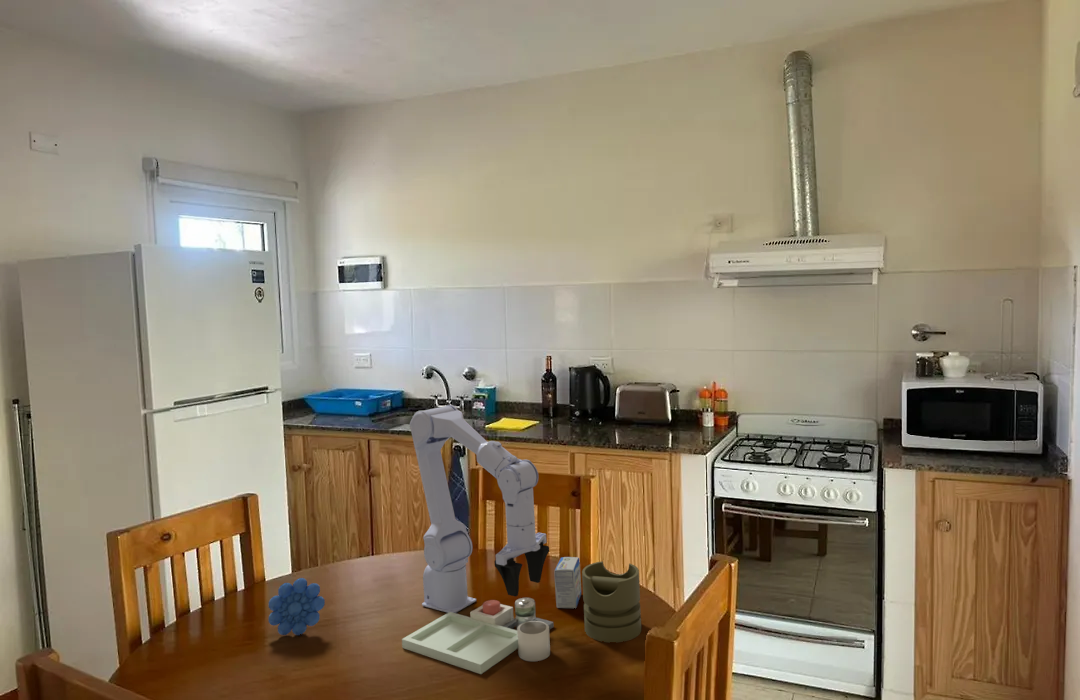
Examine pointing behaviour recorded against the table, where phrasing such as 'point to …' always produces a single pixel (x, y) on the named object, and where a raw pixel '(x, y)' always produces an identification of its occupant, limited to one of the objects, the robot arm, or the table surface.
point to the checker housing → (498, 619)
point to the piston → (611, 603)
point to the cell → (524, 610)
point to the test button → (491, 607)
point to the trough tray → (463, 642)
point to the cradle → (550, 624)
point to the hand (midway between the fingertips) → (524, 588)
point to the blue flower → (296, 607)
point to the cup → (533, 641)
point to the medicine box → (567, 582)
